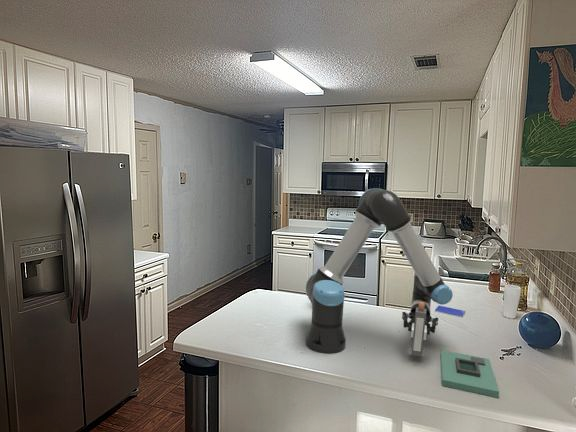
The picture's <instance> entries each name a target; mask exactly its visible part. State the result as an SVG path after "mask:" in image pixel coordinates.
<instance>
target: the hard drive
mask: <svg viewBox="0 0 576 432" xmlns="http://www.w3.org/2000/svg"><path fill="white" fill-rule="evenodd" d="M434 312H436V313H439V314H443V315H448V316H451V317H457V318H461V319H463V318H464V316H465V314H466V310H461V309H456V308H452V307H448V306H443V305H437V307H436V308H435V309H434Z"/></svg>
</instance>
